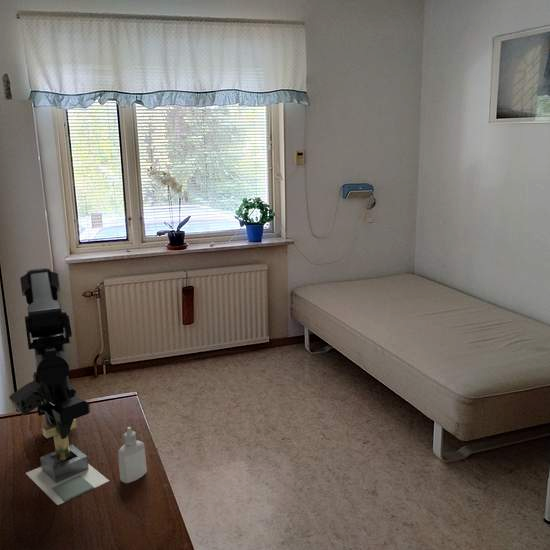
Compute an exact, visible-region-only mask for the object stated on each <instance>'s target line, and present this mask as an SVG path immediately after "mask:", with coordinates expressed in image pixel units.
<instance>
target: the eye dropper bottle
mask: <svg viewBox="0 0 550 550" xmlns="http://www.w3.org/2000/svg"><path fill="white" fill-rule="evenodd" d="M123 441H124V444H122V445H121V447H120V448H119V449H118V452H117V459H118V460H117V461H118V471H119V480H120V481H121V482H122V483H124V484H129V483H131V482H134V481H137V480H139V479H140V478H142V477H143V476H144V475H146V473H148V469H147V468H148V467H147V457H146V448H145V443H144V442H143V441H141V440H138V439H137V432H136V431H135V430H132V427H131V426H128V427H127V429H126V431H125V433H123Z"/></svg>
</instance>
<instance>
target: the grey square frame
mask: <svg viewBox="0 0 550 550" xmlns="http://www.w3.org/2000/svg"><path fill="white" fill-rule="evenodd" d="M69 448H70V457H69V458H67V459H65V460H57V458H56V451H52V452H50V453H48V454H44V455H42V456H41V457H39V459H40V467H41V468H42V471H43V472H44V473H46V474H47V475H48V476H49V477H50V478H51V479H52V480H53V481H54V482H55V483H58V482H60V481H62V480H65V479H67V478H69V477H71V476H74V475H76V474H78V473H81V472H83V471H85V470H87V469H89V467H88V464H89V461H88V455H86V454H85V453H84V452H83V451H81V450H80V449H78V448H77V447H76V446H75V445H73V444H69Z"/></svg>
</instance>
